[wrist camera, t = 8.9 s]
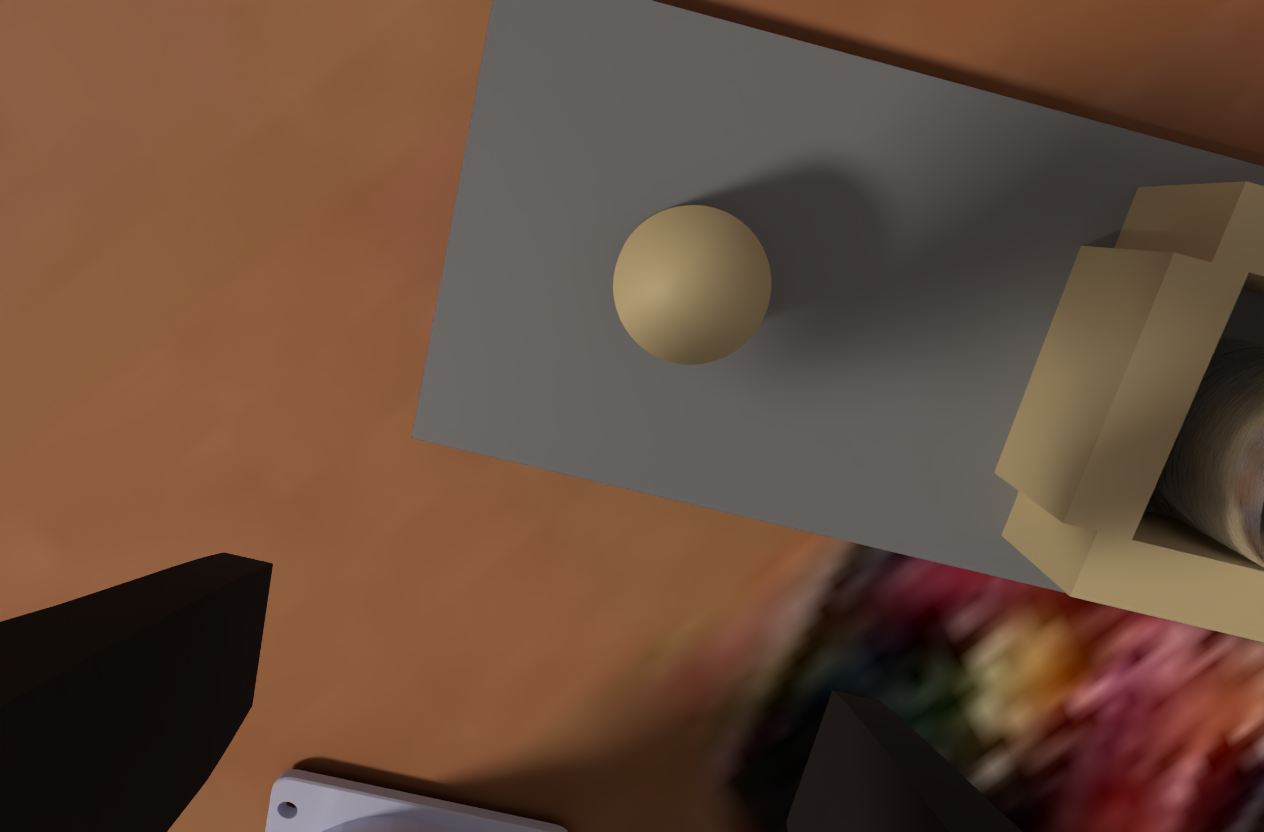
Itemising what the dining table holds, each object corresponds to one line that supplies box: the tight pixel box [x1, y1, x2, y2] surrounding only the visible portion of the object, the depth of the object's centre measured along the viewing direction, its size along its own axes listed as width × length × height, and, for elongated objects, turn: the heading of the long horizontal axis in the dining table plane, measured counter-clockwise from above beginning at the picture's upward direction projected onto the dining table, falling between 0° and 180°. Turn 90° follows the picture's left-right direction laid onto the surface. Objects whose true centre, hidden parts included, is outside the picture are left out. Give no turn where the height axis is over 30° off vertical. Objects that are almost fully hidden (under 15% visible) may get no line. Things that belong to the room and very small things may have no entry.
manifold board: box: [412, 0, 1264, 642], centre depth 16 cm, size 10×24×4 cm, turn 76°
